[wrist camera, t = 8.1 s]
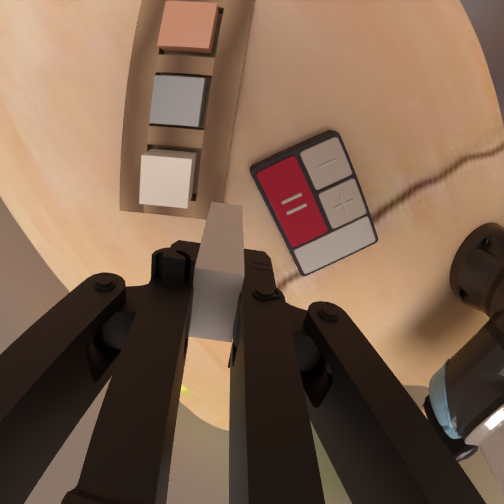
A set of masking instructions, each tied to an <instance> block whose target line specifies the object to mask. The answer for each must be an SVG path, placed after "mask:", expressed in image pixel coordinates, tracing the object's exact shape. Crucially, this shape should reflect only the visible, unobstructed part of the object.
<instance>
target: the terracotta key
mask: <svg viewBox="0 0 504 504" xmlns="http://www.w3.org/2000/svg"><path fill="white" fill-rule="evenodd" d="M218 16H219V11H218V5H217V3H209V2H190V1H166V3H165V7H164V12H163V17H162V22H161V27H160V32H159V38H158V43H157V46H158V47H159V48H161V49H162V50H164V51H165V52H186V53H201V54H212V48H213V43H214V37H215V32H216V26H217V21H218Z"/></svg>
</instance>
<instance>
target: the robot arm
mask: <svg viewBox="0 0 504 504" xmlns="http://www.w3.org/2000/svg"><path fill="white" fill-rule="evenodd" d="M450 284H451V288H452V291H453V292H454V294H455V295H456V296H457V297H458V298H459V299H460V300H461V301H462V302H463V303H465V304H467V305H469V306H471V307H473V308H475V309H478V310H480V311H482V312H484V313H486V314H487V315H488V317H489V318H490V319H489V321H488V322H487V323H486V324H485V325H484V326H483V327H482V328H481V329H480V330H479V331H478V332H477V333H476V334H475V335H474V336H473V337H472V338H471V339H470V340H469V341H468V342H467V343H466V344H465V345H464V346H463V347H462V348H461V349H460V350H459V351H458V352H457V353H456V354H455V355H454V356H453V357H451V358H450V359H448V360H447V361H446V362H445V364H444V365H443V366H442V367H441V368H440V369H439V370H438V371H437V372H436V373H435V374H434V375H433V376H432V378H431V380H430V383H429V397H430V401H431V405H432V408H433V411H434V413H435V415H436V418H437V420H438V422H439V423H440V425H441V426H443V429H444V431H445V432H446V434H447V435H448V436H449V437H451V438H453V439H458V438H461V437H462V438H463V440H464V442H465V444H469V445H477V446H479V448H480V450H481V451H482V453H483V455H484V457H485V459H486V461H487V463H488V465H489V467H490V469H491V471H492V473H493V475H494V477H495V479H496V481H497V483H498V486H499V488H500V490H501V492H502V494H503V497H504V228H503V227H501V226H500V225H498V224H493V223H491V224H486V225H483V226H481V227H479V228H478V229H476V230H475V231H474V232H473V233H472V234H470V236H469V237H468V238H467V239H466V240H465V241H464V243H463V244H462V246H461V247H460V249H459V250H458V252H457V254H456V256H455V259H454V261H453V264H452V268H451V273H450ZM188 336H190V337H197V338H204V339H212V340H219V341H227V342H232V337H233V343H232V348H231V353H230V358H229V363H228V368H230V422H229V504H325V500H324V494H323V489H322V484H321V478H320V472H319V467H318V462H317V456H316V450H315V445H314V440H313V435H312V429H311V424H310V420H311V422H312V424H313V426H314V429H315V430H316V433H317V434H318V436H319V439H320V441H321V443H322V445H323V446H324V449H325V451H326V452H327V455H328V457H329V459H330V460H331V463H332V465H333V467H334V468H335V470H336V472H337V475H338V477H339V478H340V480H341V482H342V484H343V486H344V488H345V490H346V492H347V494H348V496H349V498H350V500H351V502H352V504H486V503H485V502H484V500H483V498H482V497H481V495H480V494H479V492H478V491H477V489H476V488H475V486H474V485H473V484H472V482H471V480H470V479H469V478H468V476H467V475H466V473H465V472H464V470H463V469H462V467H461V466H460V464H459V463H458V462H457V460H456V459H455V457H454V456H453V454H452V453H451V452H450V450H449V449H448V447H447V446H446V445H445V443H444V442H443V440H442V439H441V438H440V436H439V435H438V433H437V432H436V431H435V429H434V428H433V426H432V425H431V424H430V422H429V421H428V420H427V418H426V417H425V415H424V414H423V413H422V411H421V410H420V409H419V407H418V406H417V404H416V403H415V402H414V401H413V399H412V398H411V396H410V395H409V394H408V392H407V391H406V390H405V388H404V387H403V386H402V384H401V383H400V382H399V380H398V379H397V378H396V376H395V375H394V374H393V372H392V371H391V370H390V368H389V367H388V366H387V365H386V363H385V362H384V361H383V359H382V358H381V357H380V355H379V354H378V353H377V352H376V350H375V349H374V348H373V346H372V345H371V344H370V342H369V341H368V340H367V339H366V337H365V336H364V335H363V333H362V332H361V331H360V330H359V328H358V327H357V326H356V325H355V323H354V322H353V321H352V319H351V318H350V317H349V316H348V314H347V313H346V312H345V311H344V310H343V309H342V308H340V307H338V306H337V305H335V304H333V303H330V302H322V301H319V302H313V303H312V304H311V305H309V308H308V311H307V310H303V309H300V308H297V307H294V306H292V305H290V304H288V303H286V302H285V297H284V295H283V293H282V292H281V291H280V290H279V289H278V288H276V283H275V278H274V273H273V268H272V263H271V258H270V257H269V256H268V255H267V254H266V253H265V252H263V251H256V250H249V249H244V244H243V214H242V206H237V205H231V204H224V203H217V202H211V206H210V210H209V214H208V217H207V221H206V225H205V229H204V233H203V237H202V241H201V243H195V242H188V241H181V240H178V241H177V242H175V243H174V244H172V245H171V247H170V248H162V249H159V250H157V251H155V252H154V253H153V254H152V264H151V280H150V282H149V284H146V285H143V286H129V287H125V281H124V279H123V278H122V277H120V276H118V275H116V274H113V273H105V272H104V273H98V274H94V275H92V276H90V277H89V278H87V279H86V280H85V281H83V282H82V283H81V284H80V285H78V286H77V287H76V288H75V289H74V290H72V291H71V292H70V293H69V294H68V295H66V296H65V297H64V298H63V299H62V300H61V301H59V302H58V303H57V304H56V305H55V306H54V307H52V308H51V309H50V310H49V311H48V312H47V313H46V314H44V315H43V316H42V317H41V318H40V319H39V320H37V321H36V322H35V323H34V324H33V325H32V326H31V327H30V328H28V329H27V330H26V331H25V332H24V333H23V334H22V335H21V336H20V337H19V338H18V339H16V340H15V341H14V342H13V343H12V344H11V345H10V346H9V347H8V348H7V349H6V350H5V351H4V352H3V353H2V354H1V355H0V504H24V502H25V501H26V499H27V498H28V496H29V495H30V493H31V492H32V490H33V489H34V487H35V485H36V484H37V482H38V481H39V479H40V478H41V476H42V475H43V473H44V472H45V470H46V469H47V467H48V466H49V464H50V463H51V461H52V460H53V458H54V457H55V455H56V454H57V452H58V451H59V450H60V448H61V447H62V445H63V444H64V442H65V441H66V439H67V438H68V436H69V435H70V434H71V432H72V431H73V429H74V428H75V426H76V425H77V424H78V422H79V421H80V419H81V418H82V416H83V415H84V414H85V412H86V411H87V409H88V408H89V407H90V405H91V404H92V402H93V401H94V400H95V398H96V397H97V395H98V394H99V393H100V391H101V390H102V388H103V387H104V386H105V384H106V383H107V382H108V380H109V379H110V377H111V376H112V377H111V380H110V383H109V386H108V389H107V391H106V394H105V398H104V400H103V403H102V406H101V409H100V412H99V415H98V418H97V421H96V425H95V428H94V431H93V434H92V437H91V440H90V444H89V447H88V451H87V454H86V457H85V461H84V464H83V468H82V471H81V475H80V479H79V482H78V485H77V486H76V487H75V489H73V490H71V491H69V492H67V494H66V495H65V496H64V498H63V500H62V502H61V504H166V500H167V491H168V482H169V473H170V464H171V456H172V448H173V441H174V432H175V426H176V418H177V411H178V404H179V398H180V391H181V384H182V378H183V372H184V365H185V359H186V353H187V347H188ZM309 418H310V419H309Z"/></svg>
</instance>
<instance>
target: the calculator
mask: <svg viewBox="0 0 504 504" xmlns="http://www.w3.org/2000/svg"><path fill="white" fill-rule="evenodd" d="M250 172H251V175H252V177H253V179H254V181H255V183H256V185H257V187H258V189H259V191H260V193H261V195H262V197H263V199H264V201H265V203H266V205H267V207H268V209H269V211H270V213H271V215H272V217H273V219H274V221H275V223H276V225H277V227H278V229H279V231H280V233H281V235H282V237H283V239H284V241H285V243H286V245H287V247H288V249H289V251H290V253H291V255H292V257H293V259H294V261H295V264H296V266H297V268H298V270H299V272H300V274H301V275H302V276H307V275H309V274H311V273H313V272H315V271H318V270H320V269H322V268H324V267H326V266H328V265H330V264H333V263H335V262H337V261H339V260H341V259H343V258H345V257H348V256H350V255H352V254H354V253H356V252H358V251H360V250H362V249H364V248H366V247H368V246H370V245H373V244H375V243H376V242H377V241H378V237H377V233H376V230H375V227H374V224H373V221H372V218H371V215H370V212H369V209H368V206H367V204H366V201H365V198H364V195H363V192H362V190H361V187H360V184H359V181H358V179H357V176H356V174H355V171H354V168H353V166H352V163H351V161H350V158H349V156H348V153H347V151H346V148H345V146H344V143H343V141H342V139H341V136H340V134H339V133H338V132H336V131H331V130H329V131H326V132H324V133H322V134H319V135H317V136H315V137H312V138H310V139H308V140H306V141H303V142H301V143H299V144H297V145H294V146H292V147H290V148H288V149H286V150H284V151H281V152H279V153H277V154H275V155H273V156H271V157H269V158H266V159H264V160H262V161H260V162H258V163H256V164H254V165H252V166H251V167H250Z"/></svg>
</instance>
